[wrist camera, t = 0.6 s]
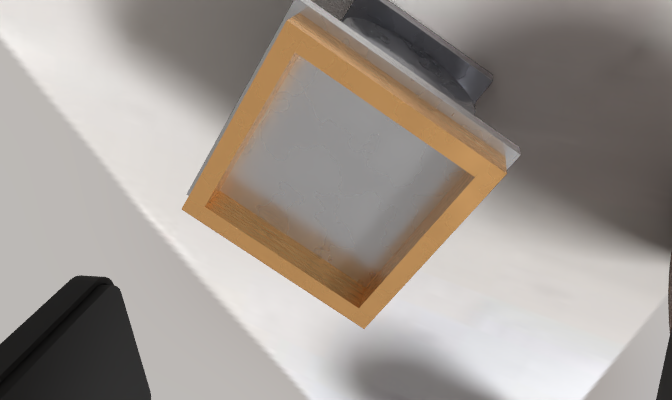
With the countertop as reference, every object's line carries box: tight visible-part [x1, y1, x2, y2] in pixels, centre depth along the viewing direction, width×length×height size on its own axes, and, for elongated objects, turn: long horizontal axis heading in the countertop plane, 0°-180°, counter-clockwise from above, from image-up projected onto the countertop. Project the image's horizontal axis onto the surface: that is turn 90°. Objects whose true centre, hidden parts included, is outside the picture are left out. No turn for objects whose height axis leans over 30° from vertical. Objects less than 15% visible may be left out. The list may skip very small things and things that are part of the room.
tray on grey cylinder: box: [182, 0, 521, 329], centre depth 35 cm, size 14×13×14 cm
